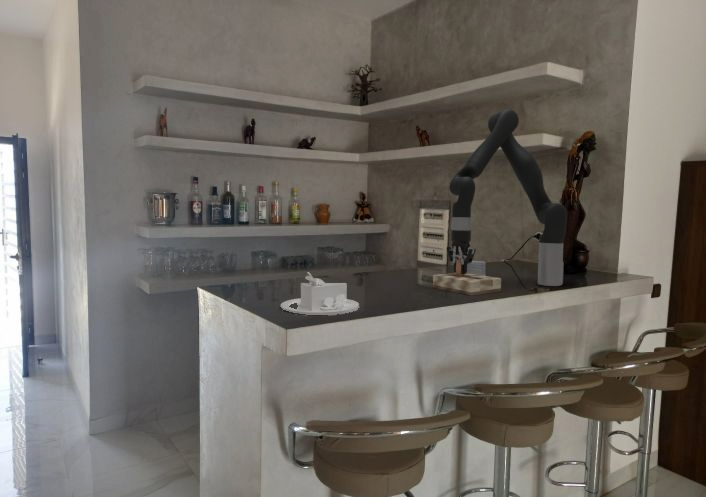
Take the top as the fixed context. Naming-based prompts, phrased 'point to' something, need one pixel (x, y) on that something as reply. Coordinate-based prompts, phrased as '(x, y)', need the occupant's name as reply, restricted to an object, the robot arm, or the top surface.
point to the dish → (321, 299)
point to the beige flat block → (467, 283)
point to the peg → (458, 268)
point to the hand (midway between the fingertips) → (460, 273)
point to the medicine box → (476, 267)
